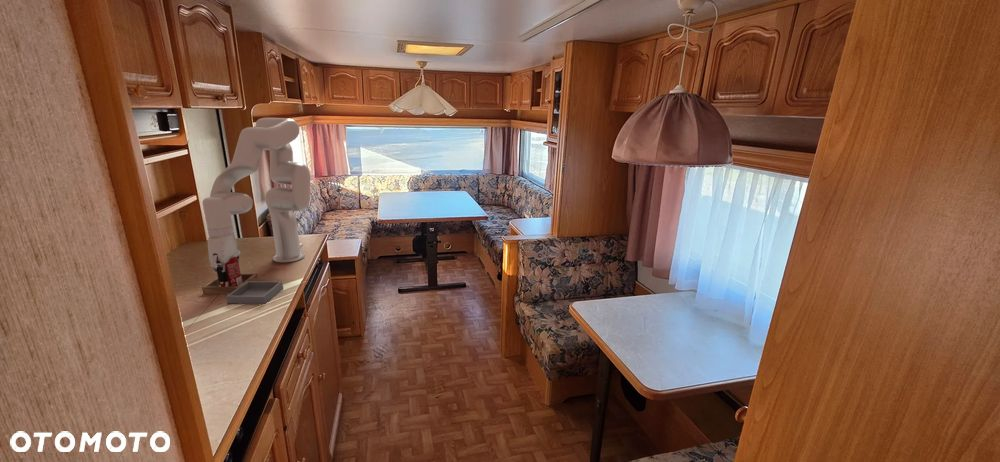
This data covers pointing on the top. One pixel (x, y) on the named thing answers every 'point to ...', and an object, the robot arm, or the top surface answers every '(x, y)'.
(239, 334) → the top surface
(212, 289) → the wooden tray
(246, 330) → the top surface
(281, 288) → the grey tray
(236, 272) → the soda can
